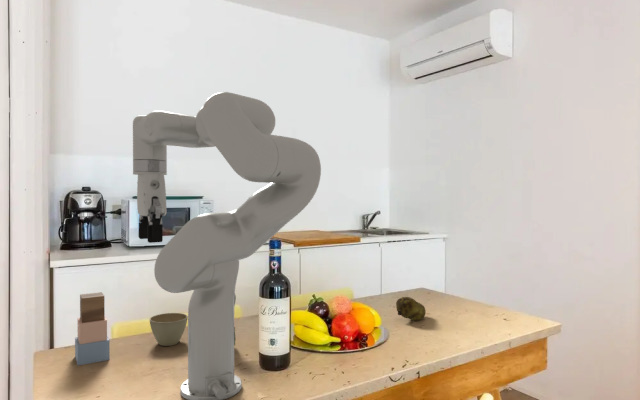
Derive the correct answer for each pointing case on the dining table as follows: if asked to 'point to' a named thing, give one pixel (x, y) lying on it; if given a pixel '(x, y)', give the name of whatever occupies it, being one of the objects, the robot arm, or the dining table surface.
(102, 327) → the tower top
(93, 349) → the tower base
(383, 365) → the dining table surface
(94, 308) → the walnut block
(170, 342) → the olive grey bowl
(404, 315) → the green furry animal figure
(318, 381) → the dining table surface
